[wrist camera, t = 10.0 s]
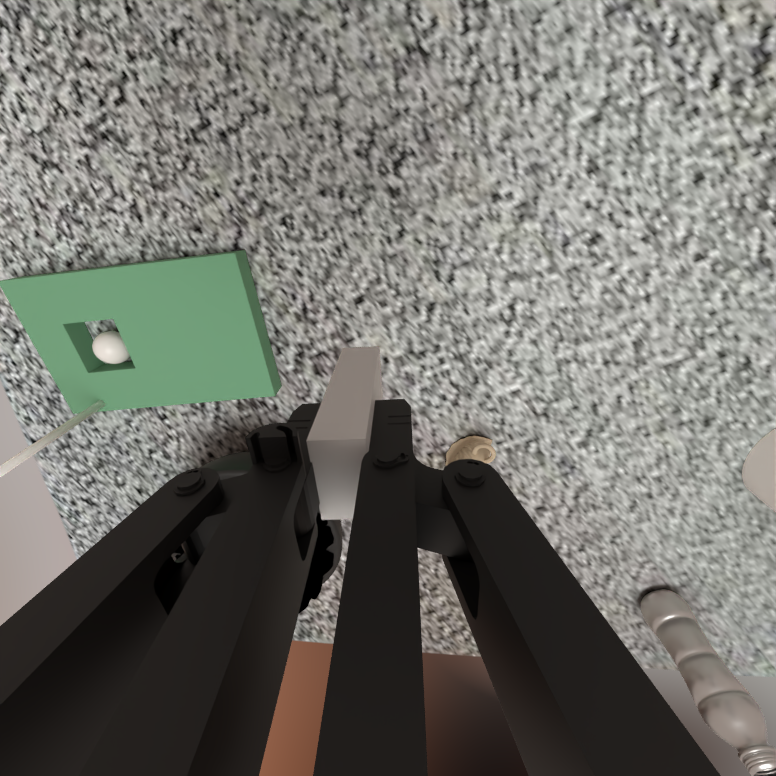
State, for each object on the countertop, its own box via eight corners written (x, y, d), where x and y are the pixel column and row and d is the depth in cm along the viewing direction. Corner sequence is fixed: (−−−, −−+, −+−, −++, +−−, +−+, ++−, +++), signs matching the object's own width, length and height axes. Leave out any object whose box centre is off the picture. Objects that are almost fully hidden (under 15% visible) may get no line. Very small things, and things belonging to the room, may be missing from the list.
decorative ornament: (435, 465, 48) (439, 494, 43) (474, 417, 44) (483, 443, 39) (461, 477, 48) (468, 508, 44) (501, 432, 45) (513, 459, 40)
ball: (116, 323, 41) (80, 335, 38) (130, 329, 39) (93, 342, 36) (130, 352, 42) (96, 364, 40) (144, 359, 41) (109, 372, 38)
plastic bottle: (682, 581, 56) (815, 759, 38) (673, 609, 59) (792, 786, 41) (637, 584, 56) (747, 760, 39) (631, 611, 59) (730, 787, 42)
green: (21, 276, 38) (-218, 323, 23) (245, 249, 36) (138, 282, 22) (89, 403, 45) (-63, 501, 30) (281, 385, 43) (219, 481, 28)
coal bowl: (211, 527, 54) (125, 675, 37) (192, 409, 45) (67, 534, 28) (348, 540, 54) (324, 692, 37) (356, 426, 45) (330, 558, 28)
